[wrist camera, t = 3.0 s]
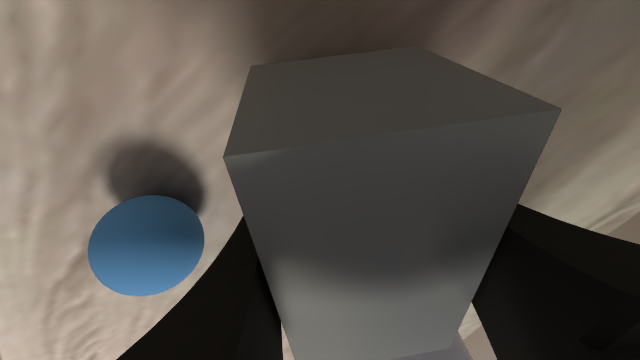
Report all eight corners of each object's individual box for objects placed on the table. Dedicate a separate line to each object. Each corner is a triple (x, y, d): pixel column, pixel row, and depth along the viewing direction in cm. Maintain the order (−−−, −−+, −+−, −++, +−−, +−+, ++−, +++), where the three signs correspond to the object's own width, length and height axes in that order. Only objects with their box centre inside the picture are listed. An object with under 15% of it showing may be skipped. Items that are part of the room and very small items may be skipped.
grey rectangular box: (394, 233, 16) (449, 347, 11) (292, 249, 15) (300, 376, 10) (416, 45, 10) (561, 109, 5) (250, 66, 9) (223, 157, 4)
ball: (222, 232, 18) (207, 306, 14) (144, 245, 17) (104, 324, 13) (194, 170, 15) (164, 240, 11) (99, 183, 14) (30, 261, 10)
